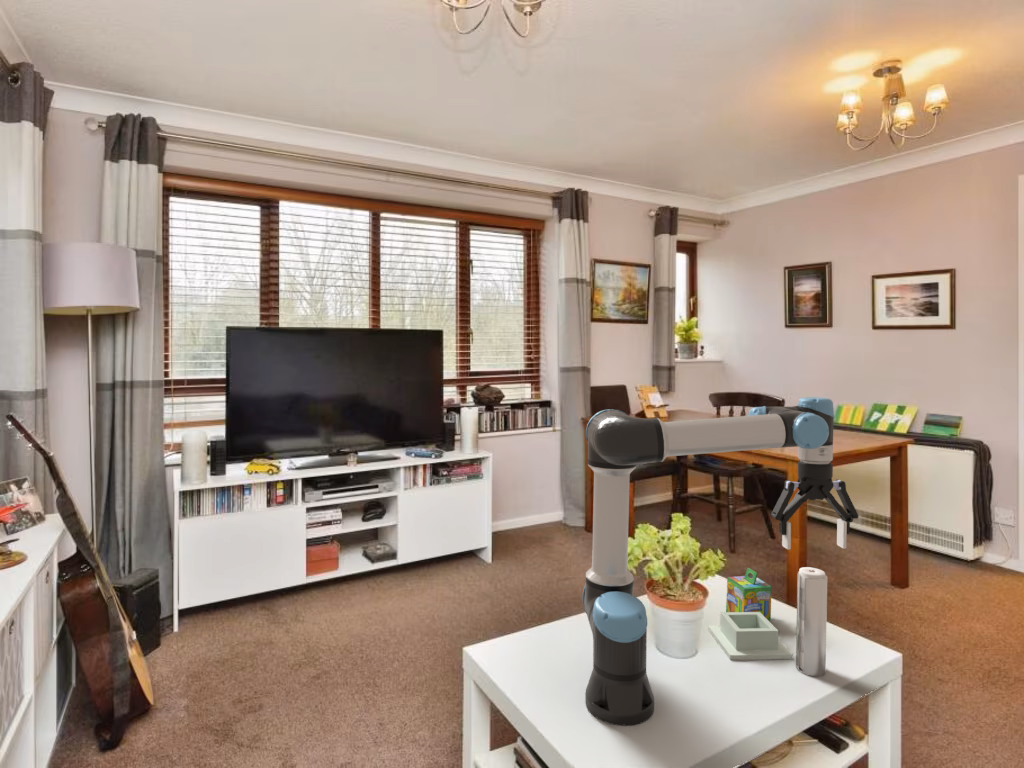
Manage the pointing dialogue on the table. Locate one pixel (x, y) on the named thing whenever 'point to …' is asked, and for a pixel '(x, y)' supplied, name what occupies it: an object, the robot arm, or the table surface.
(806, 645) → the silver metal bar
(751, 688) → the table surface
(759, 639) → the socket block
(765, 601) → the chalk box
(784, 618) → the table surface
